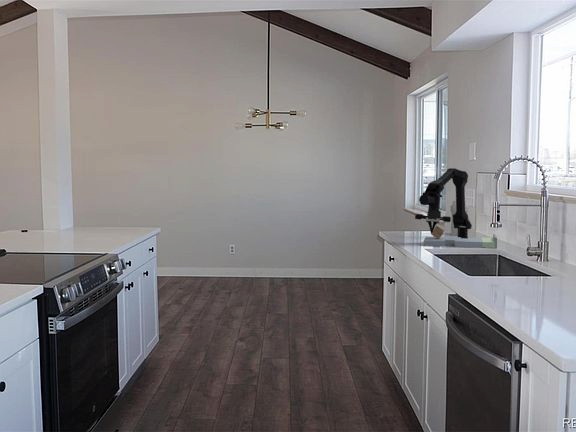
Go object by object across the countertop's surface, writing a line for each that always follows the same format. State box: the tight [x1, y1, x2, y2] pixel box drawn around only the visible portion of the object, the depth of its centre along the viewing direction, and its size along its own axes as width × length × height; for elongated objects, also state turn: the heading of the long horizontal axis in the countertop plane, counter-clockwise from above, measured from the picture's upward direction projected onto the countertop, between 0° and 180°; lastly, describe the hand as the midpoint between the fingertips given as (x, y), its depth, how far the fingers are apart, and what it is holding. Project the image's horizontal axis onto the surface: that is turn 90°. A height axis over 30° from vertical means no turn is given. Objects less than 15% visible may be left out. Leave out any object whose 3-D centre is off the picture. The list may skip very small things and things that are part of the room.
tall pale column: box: [450, 200, 470, 237], centre depth 335 cm, size 11×4×22 cm, turn 75°
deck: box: [423, 233, 498, 249], centre depth 296 cm, size 18×37×5 cm, turn 72°
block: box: [430, 225, 445, 239], centre depth 299 cm, size 5×5×5 cm
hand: (431, 233), depth 300 cm, fingers closed, pressing on block
